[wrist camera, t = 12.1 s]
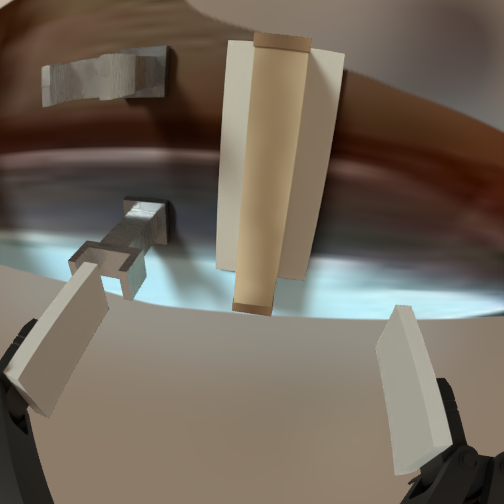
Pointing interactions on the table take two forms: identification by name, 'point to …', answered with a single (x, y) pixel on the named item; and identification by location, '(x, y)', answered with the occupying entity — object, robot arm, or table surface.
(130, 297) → the post far
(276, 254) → the rail
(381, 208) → the table surface
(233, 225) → the mat
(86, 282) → the robot arm
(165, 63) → the post near
